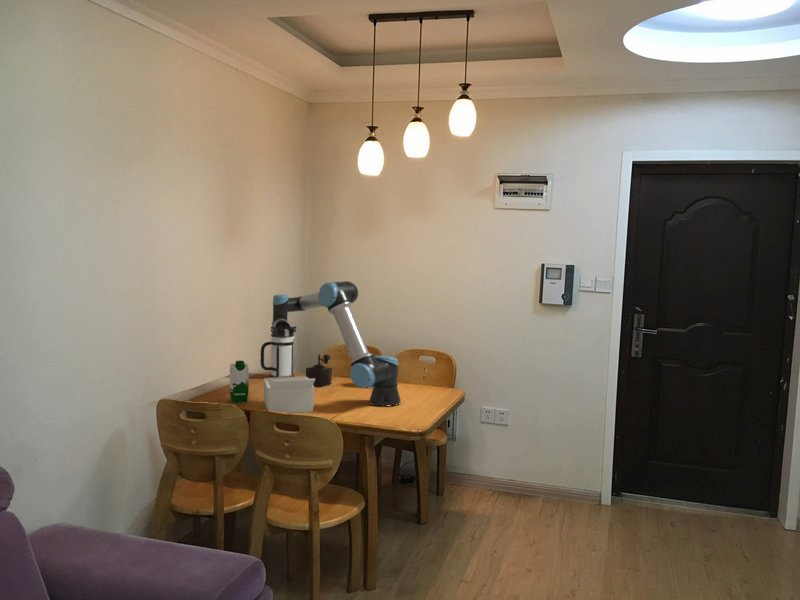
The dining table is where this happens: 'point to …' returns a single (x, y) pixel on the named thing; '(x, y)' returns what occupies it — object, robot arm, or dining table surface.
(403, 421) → the dining table surface
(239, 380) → the milk carton
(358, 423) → the dining table surface
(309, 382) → the carton flap
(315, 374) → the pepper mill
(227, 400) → the dining table surface
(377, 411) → the dining table surface
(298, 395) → the carton
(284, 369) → the coffee press
